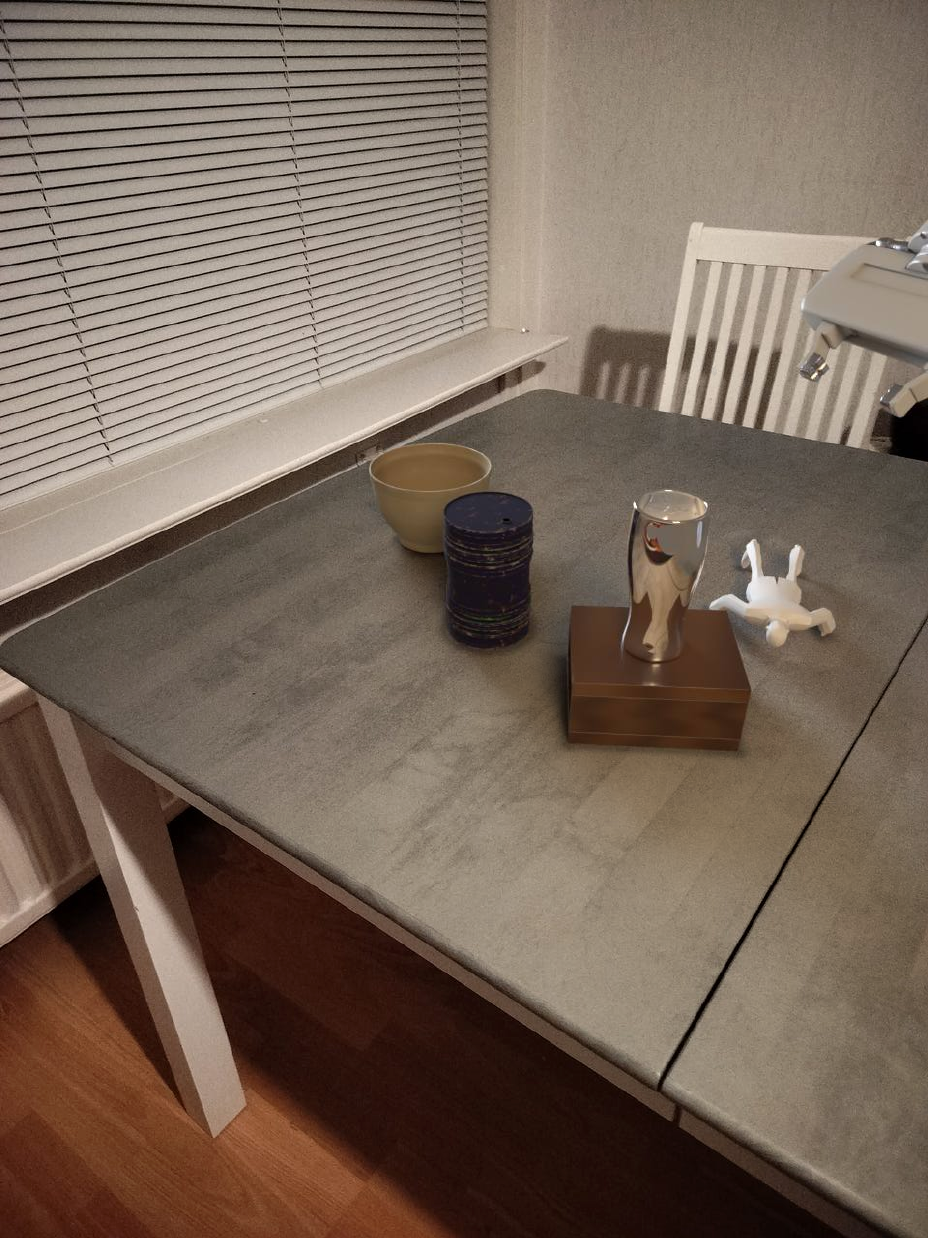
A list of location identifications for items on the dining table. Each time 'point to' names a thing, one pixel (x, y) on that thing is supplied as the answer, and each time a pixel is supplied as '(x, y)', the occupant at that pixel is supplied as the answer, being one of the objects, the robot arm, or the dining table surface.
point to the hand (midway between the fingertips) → (844, 392)
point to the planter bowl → (425, 488)
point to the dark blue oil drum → (488, 568)
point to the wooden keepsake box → (655, 685)
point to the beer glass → (663, 570)
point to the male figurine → (775, 600)
